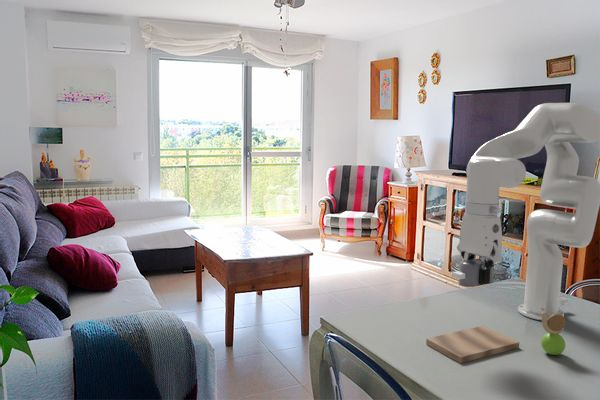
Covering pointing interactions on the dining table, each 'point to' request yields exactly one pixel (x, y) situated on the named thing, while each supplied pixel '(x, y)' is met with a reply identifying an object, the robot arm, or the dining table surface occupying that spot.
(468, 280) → the block
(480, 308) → the dining table surface
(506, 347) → the walnut board
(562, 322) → the snail figurine
